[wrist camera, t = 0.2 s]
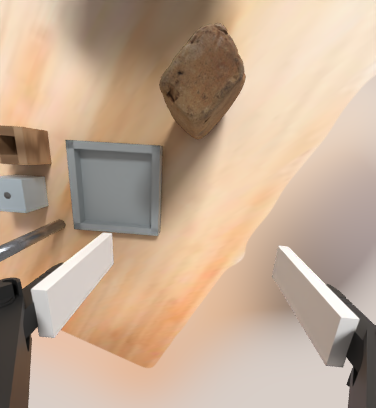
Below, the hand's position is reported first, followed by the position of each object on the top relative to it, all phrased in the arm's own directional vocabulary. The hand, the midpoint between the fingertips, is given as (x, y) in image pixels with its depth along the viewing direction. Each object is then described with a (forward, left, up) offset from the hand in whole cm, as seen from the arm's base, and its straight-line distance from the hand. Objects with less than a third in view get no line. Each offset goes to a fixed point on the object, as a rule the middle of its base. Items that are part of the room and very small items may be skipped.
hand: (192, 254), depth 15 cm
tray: (+1, -18, -28) cm, 33 cm away
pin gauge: (+11, -33, -28) cm, 44 cm away
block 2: (-16, 0, -28) cm, 33 cm away
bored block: (-7, -37, -28) cm, 47 cm away
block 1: (+3, -39, -28) cm, 48 cm away
